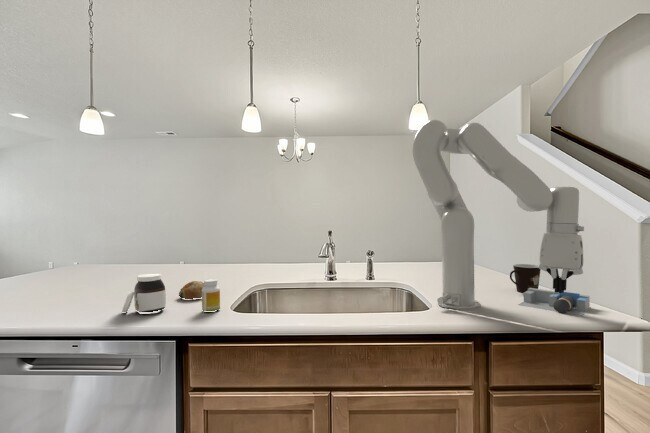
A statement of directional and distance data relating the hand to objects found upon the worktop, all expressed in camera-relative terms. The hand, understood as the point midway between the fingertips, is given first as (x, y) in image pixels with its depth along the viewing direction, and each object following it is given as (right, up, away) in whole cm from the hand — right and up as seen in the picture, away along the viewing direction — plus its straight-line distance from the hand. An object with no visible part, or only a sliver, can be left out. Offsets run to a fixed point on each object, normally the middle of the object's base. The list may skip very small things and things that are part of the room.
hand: (559, 292), depth 100 cm
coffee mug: (+3, -6, +24) cm, 25 cm away
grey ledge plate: (+2, -6, +5) cm, 8 cm away
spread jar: (-126, -8, +7) cm, 126 cm away
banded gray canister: (+2, -5, 0) cm, 6 cm away
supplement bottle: (-104, -8, +8) cm, 105 cm away
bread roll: (-117, -8, +26) cm, 120 cm away
